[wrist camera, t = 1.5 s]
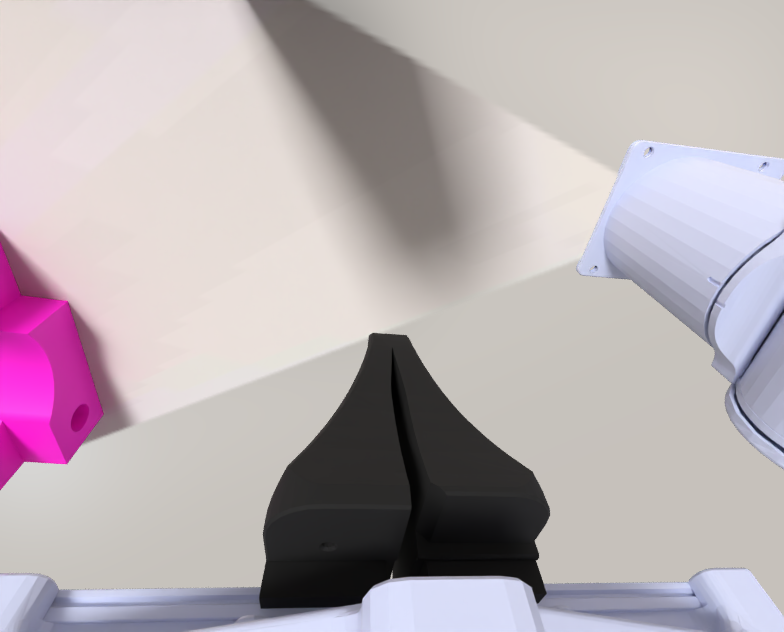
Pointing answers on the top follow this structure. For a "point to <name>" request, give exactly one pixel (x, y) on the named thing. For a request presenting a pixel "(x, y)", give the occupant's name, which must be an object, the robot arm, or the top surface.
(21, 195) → the top surface
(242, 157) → the top surface
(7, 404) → the toy block
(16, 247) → the top surface
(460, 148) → the top surface
